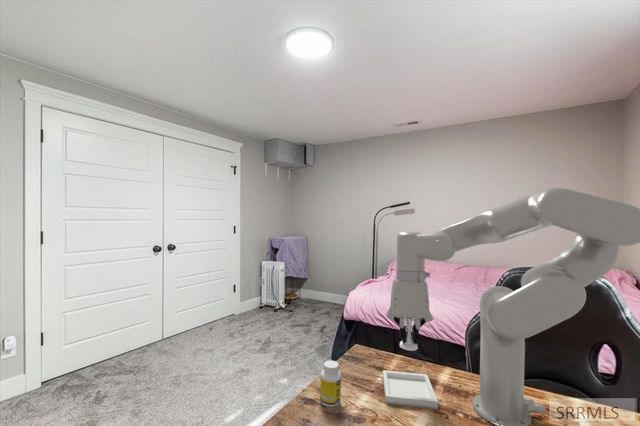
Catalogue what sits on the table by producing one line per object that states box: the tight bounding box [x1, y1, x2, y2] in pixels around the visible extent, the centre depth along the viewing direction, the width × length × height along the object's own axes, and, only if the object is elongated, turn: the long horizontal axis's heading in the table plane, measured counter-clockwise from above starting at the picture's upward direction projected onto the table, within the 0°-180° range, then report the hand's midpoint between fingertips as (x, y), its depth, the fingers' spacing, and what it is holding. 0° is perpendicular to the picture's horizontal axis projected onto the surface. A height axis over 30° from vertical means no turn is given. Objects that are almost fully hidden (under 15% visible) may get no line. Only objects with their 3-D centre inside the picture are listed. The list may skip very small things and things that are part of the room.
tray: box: [382, 369, 439, 410], centre depth 83 cm, size 13×13×2 cm
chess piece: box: [399, 317, 419, 352], centre depth 83 cm, size 5×5×10 cm
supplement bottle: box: [319, 360, 342, 408], centre depth 78 cm, size 5×5×10 cm
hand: (408, 340), depth 83 cm, fingers closed on chess piece
